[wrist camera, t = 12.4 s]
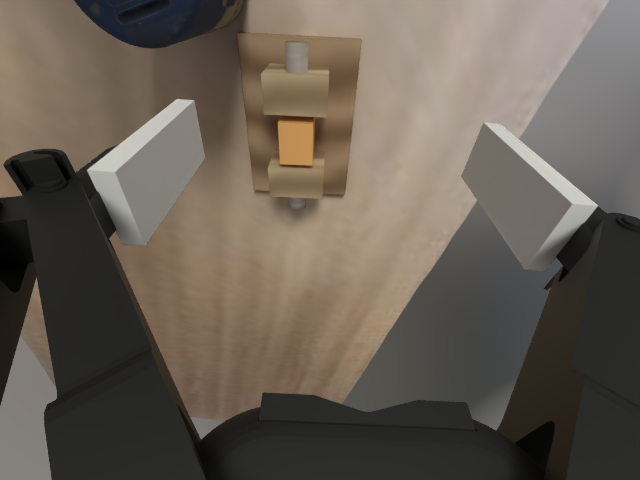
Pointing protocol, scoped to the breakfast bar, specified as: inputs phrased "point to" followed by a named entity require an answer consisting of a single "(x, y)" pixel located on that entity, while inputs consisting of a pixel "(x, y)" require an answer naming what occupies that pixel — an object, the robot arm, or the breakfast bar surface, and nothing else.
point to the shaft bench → (324, 127)
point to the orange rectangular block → (296, 140)
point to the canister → (159, 19)
